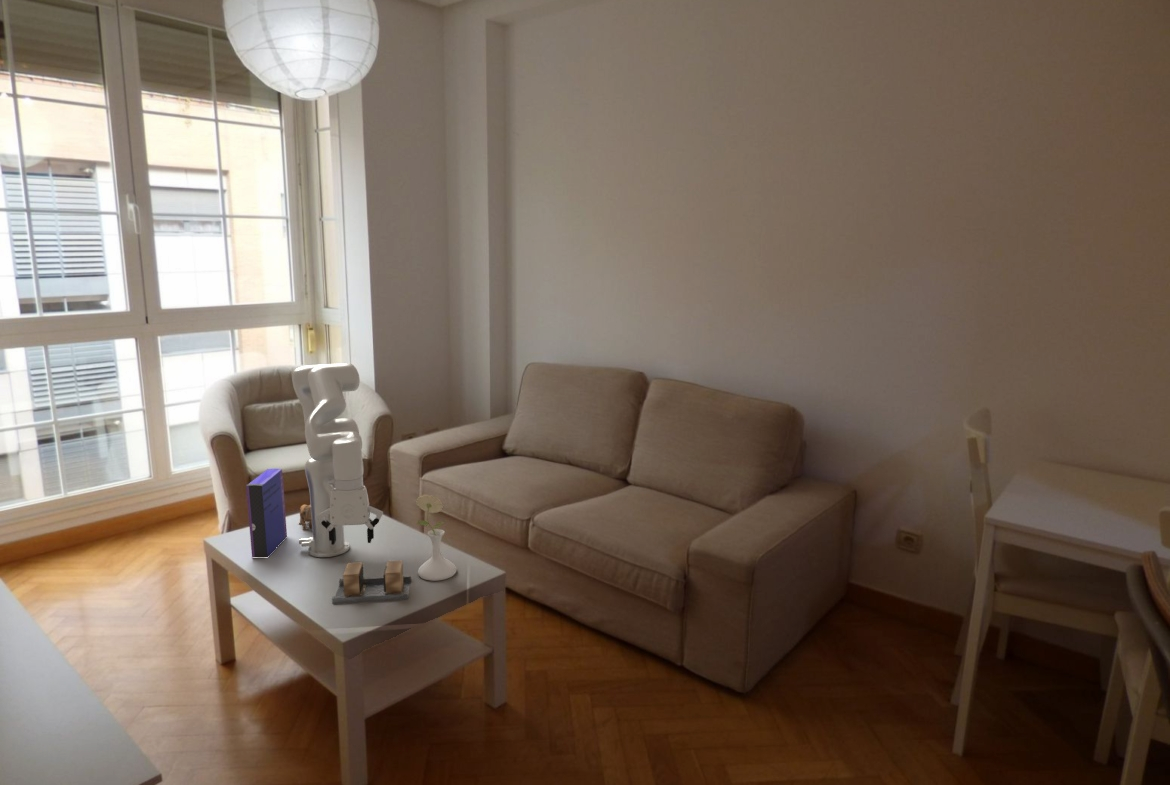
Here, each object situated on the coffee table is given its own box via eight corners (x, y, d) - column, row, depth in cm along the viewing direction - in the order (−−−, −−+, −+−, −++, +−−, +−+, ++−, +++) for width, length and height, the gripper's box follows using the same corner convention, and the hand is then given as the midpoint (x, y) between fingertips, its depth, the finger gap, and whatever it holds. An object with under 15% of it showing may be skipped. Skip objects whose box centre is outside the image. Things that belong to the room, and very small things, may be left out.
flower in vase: (464, 573, 226) (462, 494, 221) (439, 588, 216) (436, 505, 211) (431, 564, 232) (429, 486, 227) (405, 577, 223) (402, 497, 218)
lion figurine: (321, 530, 259) (319, 505, 257) (305, 533, 256) (303, 508, 254) (307, 518, 271) (306, 494, 269) (292, 521, 267) (290, 497, 266)
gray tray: (332, 606, 204) (332, 598, 204) (340, 586, 216) (339, 578, 216) (407, 602, 207) (407, 594, 207) (411, 582, 219) (411, 574, 219)
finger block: (344, 598, 207) (343, 574, 205) (349, 585, 214) (347, 562, 213) (360, 597, 207) (359, 574, 206) (364, 585, 215) (363, 562, 214)
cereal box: (272, 537, 253) (267, 468, 248) (287, 537, 253) (282, 468, 248) (252, 558, 235) (245, 485, 231) (267, 558, 236) (261, 485, 231)
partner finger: (383, 596, 208) (382, 573, 207) (387, 584, 216) (386, 561, 215) (400, 595, 209) (399, 572, 208) (403, 583, 217) (402, 560, 215)
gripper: (312, 488, 200) (316, 548, 203) (379, 486, 202) (382, 545, 206) (318, 479, 207) (322, 538, 211) (382, 477, 210) (385, 535, 213)
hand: (351, 541), depth 208 cm, fingers open, 9 cm apart
